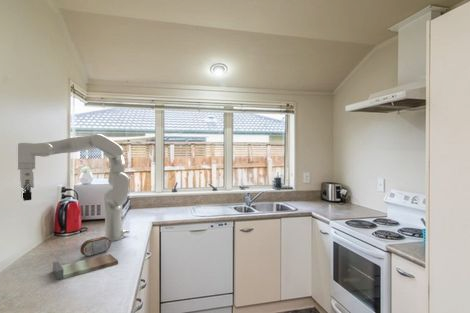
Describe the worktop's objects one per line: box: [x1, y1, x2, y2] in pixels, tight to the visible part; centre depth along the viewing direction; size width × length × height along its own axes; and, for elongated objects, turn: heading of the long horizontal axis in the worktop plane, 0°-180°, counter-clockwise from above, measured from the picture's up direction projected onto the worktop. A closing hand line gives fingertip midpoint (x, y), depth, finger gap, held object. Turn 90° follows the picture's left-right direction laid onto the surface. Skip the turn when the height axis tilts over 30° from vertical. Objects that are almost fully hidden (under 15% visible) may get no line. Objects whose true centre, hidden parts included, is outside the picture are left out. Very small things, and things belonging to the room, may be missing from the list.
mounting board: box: [61, 253, 119, 280], centre depth 127 cm, size 23×12×2 cm, turn 133°
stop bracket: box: [52, 261, 63, 281], centre depth 118 cm, size 2×12×4 cm, turn 43°
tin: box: [80, 236, 112, 257], centre depth 143 cm, size 15×3×8 cm, turn 141°
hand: (26, 199), depth 138 cm, fingers open, 9 cm apart
